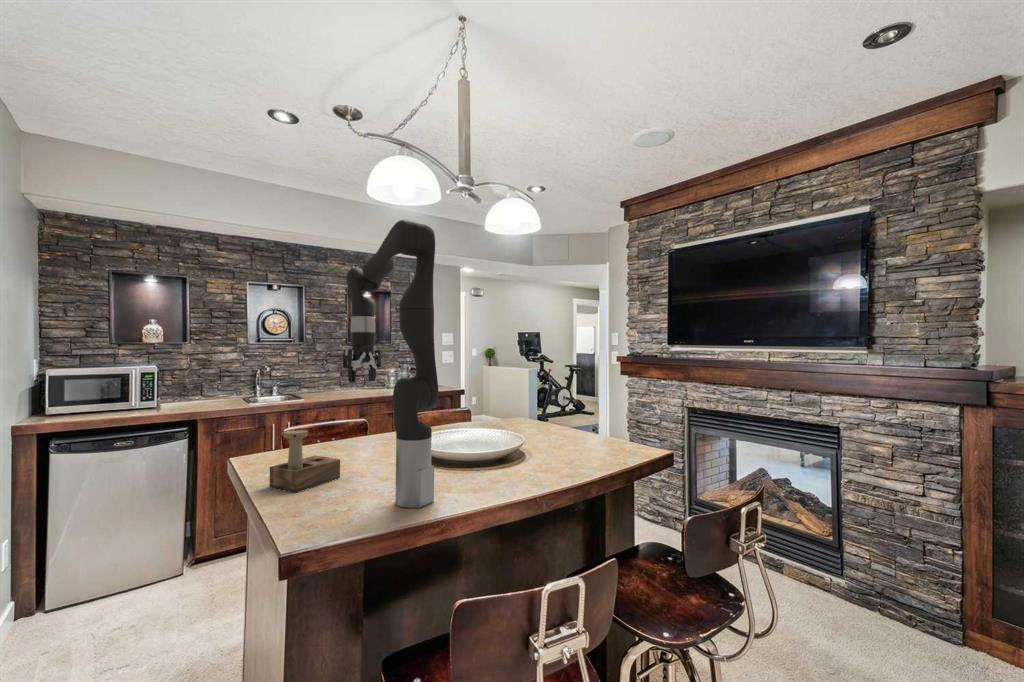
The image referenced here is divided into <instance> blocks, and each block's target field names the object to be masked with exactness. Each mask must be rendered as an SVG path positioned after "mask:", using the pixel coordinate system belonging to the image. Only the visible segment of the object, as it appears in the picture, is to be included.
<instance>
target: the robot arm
mask: <svg viewBox="0 0 1024 682" xmlns="http://www.w3.org/2000/svg"><path fill="white" fill-rule="evenodd" d="M400 254H402V255H403V256H409V257H415V258H416V264H415V265H416V267H415V273H414V277H413V278H412V280H411V282H410V284H409V286H408V287H407V288H406V290H405V292H404V294H402V297H401V299H400V302H399V306H398V307H399V311H398V312H399V315H398V317H399V318H398V319H399V321H398V322H399V323H398V324H399V330H400V333H401V335H402V337H403V339H404V341H405V343H406V345H407V346H408V348H409V350H410V351H411V354H412V357H413V359H414V365H415V376H410V377H401V378H400V379H398V380H397V381H396V382H395V384H394V387H393V392H392V405H393V406H392V407H393V408H392V409H393V425H394V429H395V499H394V501H395V502H394V503H395V505H396V506H398V507H400V508H410V509H411V508H416V509H417V508H418V509H420V508H423V507H425V506H426V505H430V504H431V503H433V502H434V501H435V466H434V465H432V437H433V436H432V434H433V433H432V431H433V430H432V426H430V425H429V424H426V423H423V422H421V421H420V420H419V414H418V412H422V411H423V412H424V411H429V410H432V409H434V408H435V406H436V404H437V402H438V400H439V381H438V373H437V363H436V353H435V312H434V311H435V305H434V272H435V271H434V270H435V269H434V268H435V260H436V259H435V256H436V235H435V230H434V228H433V227H432V226H431V225H430V224H426V223H424V222H417V221H414V220H413V221H412V220H408V219H400V220H398V221H397V222H395V223H394V225H393V226H392V227H391V228H390V230H389V232H388V233H387V234H386V236H385V238H384V240H383V241H382V243H381V245H380V246H379V248H378V249H377V251H375V253H374V254H373V255H372V256H371V257H370V258H369V259H368V260H367V261H366V262H365V263H364V264H363V266H362V268H358V267H352V268H350V269H349V270H348V272H347V273H346V275H345V276H346V277H345V279H346V280H345V282H346V286H347V289H348V294H349V296H350V302H351V320H350V346H352V347H351V348H350V349H347V348H345V349H344V350H343V357H342V368H343V369H344V370H345V369H346V370H347V373H348V374H347V379H348V380H347V381H348V383H351V384H354V383H356V382H357V371H356V369H357V368H358V366H360V365H361V364H365V365H367V367H368V381H369V382H375V381H376V378H377V377H376V376H377V374H376V373H377V369H378V368H381V367H382V361H381V360H382V357H381V356H382V353H381V351H382V350H381V349H374V346H375V345H376V318H375V315H376V314H375V313H376V312H375V311H376V308H375V307H376V303H375V301H374V299H371V298H368V297H365V296H364V295H363V293H362V292H370V293H371V292H376V291H378V290H379V289H380V287H381V286H382V282H383V280H384V279H385V278H386V277H387V276H388V275H390V274H391V273H392V272H393V271H394V268H395V267H396V266H395V265H396V257H395V256H397V255H400Z"/></svg>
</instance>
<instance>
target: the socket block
mask: <svg viewBox="0 0 1024 682" xmlns="http://www.w3.org/2000/svg"><path fill="white" fill-rule="evenodd" d="M338 478H341V458H340V459H339V458H334V457H328V456H322V455H312V456H308V457H303V468H301V469H298V470H289V469H288V461H287V462H284V463H280V464H276V465H273V466H269V487H270V489H274V488H275V489H274V490H278V489H280V490H279V491H283V490H285V492H288V491H289V492H288V493H292V492H293V494H297V493H300V492H299V491H301V492H303V491H302V490H304V491H306V490H305V489H307V488H310V489H312V488H311V487H313V488H315V487H314V486H316V487H318V486H317V485H319V486H321V485H320V484H322V485H324V484H323V483H325V484H327V483H326V482H328V483H330V482H329V481H331V482H333V481H332V480H334V481H336V480H335V479H337V480H339V479H338ZM307 490H308V489H307Z"/></svg>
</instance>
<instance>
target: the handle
mask: <svg viewBox="0 0 1024 682" xmlns="http://www.w3.org/2000/svg"><path fill="white" fill-rule="evenodd" d="M308 433H309V431H308V430H302V429H300V430H288V431H284V432H283V438H285V439H287V440H288V442H289V443H288V444H289V445H288V455H287V456H288V457H287V462H288V469H289V470H298V469H301V468H303V458H304V457H303V439H305V438H307V436H308Z"/></svg>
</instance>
